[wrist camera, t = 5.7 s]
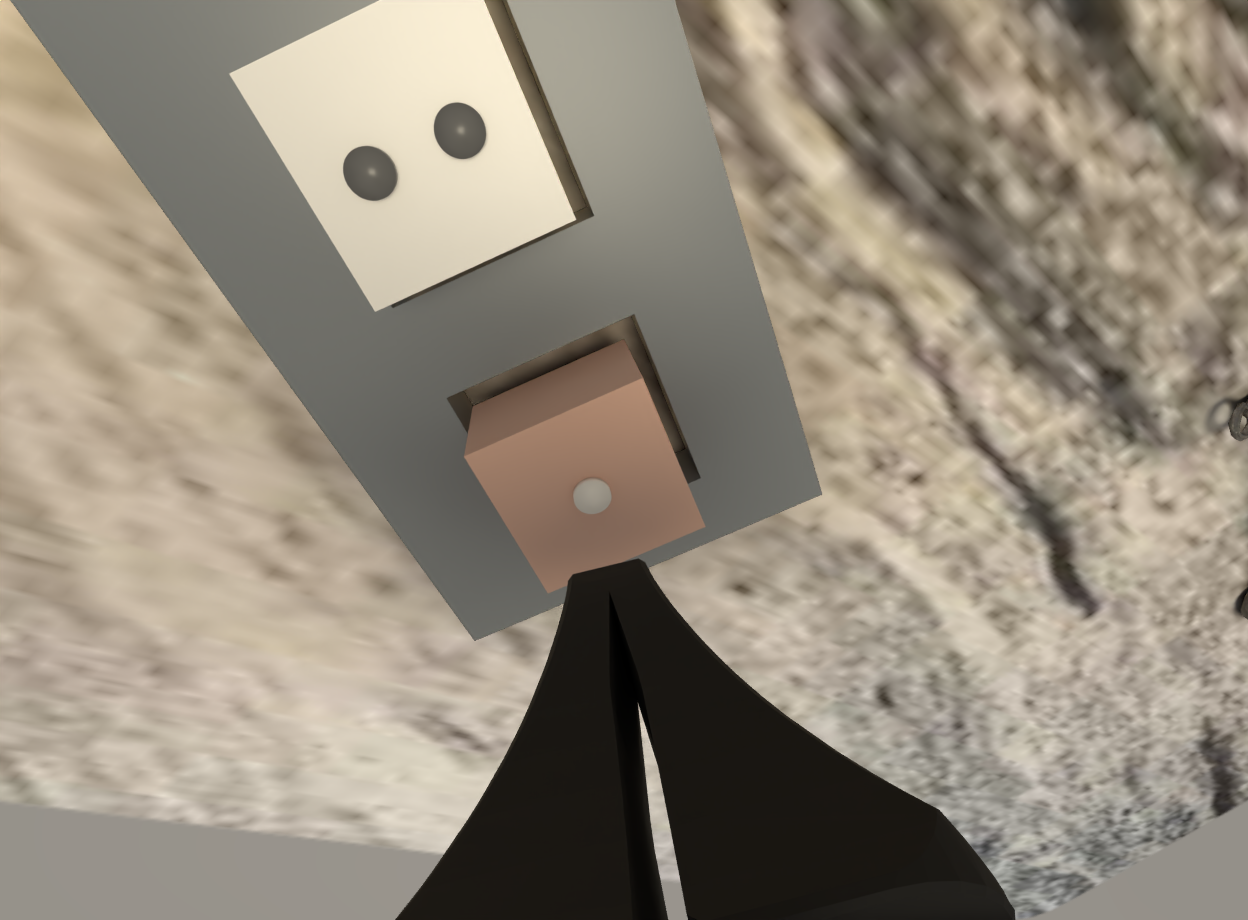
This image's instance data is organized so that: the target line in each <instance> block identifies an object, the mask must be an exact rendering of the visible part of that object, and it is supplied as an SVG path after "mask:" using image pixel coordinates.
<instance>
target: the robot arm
mask: <svg viewBox="0 0 1248 920" xmlns="http://www.w3.org/2000/svg"><path fill="white" fill-rule="evenodd" d="M638 704H639V707H640V710H641V713H642V717H643V720H644V723H645V726H646V729H647V733H648V736H649V739H650V742H651V745H652V749H653V752H654V755H655V758H656V761H657V765H658V768H659V773H660V778H661V783H662V788H663V793H664V798H665V803H666V808H667V813H668V819H669V824H670V829H671V834H672V839H673V844H674V850H675V855H676V860H677V865H678V870H679V876H680V881H681V886H682V891H683V897H684V902H685V906H686V913H687V917H688V920H1015V910H1014V908H1013V907H1012V905H1011V904H1010V902H1009V901H1008V899H1007V897H1006V895H1005V893H1004V891H1003V889H1002V888H1001V886H1000V885H999V883H998V882H997V880H996V878H995V877H994V876H993V874H992V873H991V872H990V870H989V869H988V868H987V866H986V865H985V864H984V862H983V861H982V860H981V859H980V857H979V856H978V855H977V854H976V852H975V851H974V850H973V848H972V847H971V846H970V845H969V843H968V842H967V841H966V840H965V838H964V837H963V836H962V835H961V834H960V833H959V832H958V830H957V829H956V828H955V827H954V826H953V825H952V823H951V822H950V821H949V820H948V819H947V818H946V817H945V816H944V815H943V813H942V812H941V811H940V810H939V809H937V808H935V807H933V806H931V805H929V804H927V803H925V802H923V801H922V800H920V799H918V798H916V797H914V796H912V795H910V794H908V793H907V792H905V791H903V790H901V789H899V788H898V787H896V786H894V785H892V784H891V783H889V782H887V781H885V780H884V779H882V778H880V777H878V776H877V775H875V774H873V773H871V772H870V771H868V770H867V769H865V768H863V767H862V766H860V765H858V764H857V763H855V762H854V761H852V760H850V759H849V758H847V757H846V756H844V755H842V754H841V753H839V752H838V751H836V750H835V749H833V748H832V747H830V746H829V745H827V744H826V743H825V742H823V741H822V740H820V739H819V738H817V737H816V736H815V735H813V734H812V733H810V732H809V731H807V730H806V729H805V728H803V727H802V726H800V725H799V724H797V723H796V722H795V721H793V720H792V719H790V718H789V717H787V716H786V715H785V714H784V713H782V712H781V711H780V710H779V709H777V708H776V707H775V706H774V705H772V704H771V703H770V702H768V701H767V700H766V699H765V698H763V697H762V696H761V695H760V694H759V693H758V692H756V691H755V690H754V689H753V688H752V687H751V686H749V685H748V684H747V683H746V682H745V681H744V680H742V679H741V678H740V677H739V676H738V675H737V674H736V673H735V672H734V671H733V670H732V669H731V668H729V667H728V666H727V665H726V664H725V663H724V662H723V661H722V660H721V659H720V658H719V657H718V656H717V655H716V654H715V653H714V652H713V651H712V650H711V649H710V648H709V647H708V646H707V645H706V644H705V642H704V641H703V640H702V639H701V638H700V637H699V636H698V635H697V634H696V633H695V632H694V630H693V629H692V628H691V627H690V626H689V624H688V623H687V622H686V621H685V620H684V619H683V617H682V616H681V615H680V614H679V613H678V612H677V610H676V609H675V608H674V606H673V605H672V604H671V603H670V601H669V600H668V599H667V597H666V596H665V594H664V593H663V592H662V590H661V589H660V587H659V586H658V584H657V583H656V581H655V580H654V578H653V576H652V575H651V573H650V571H649V569H648V567H647V565H646V562H644V561H642V560H641V559H639V558H638V559H634V560H629V561H625V562H621V563H617V564H613V565H609V566H605V567H601V568H596V569H592V570H588V571H584V572H580V573H576V574H572V576H571V577H570V579H569V580H568V584H567V591H566V597H565V601H564V606H563V610H562V614H561V618H560V621H559V625H558V629H557V632H556V635H555V638H554V641H553V644H552V647H551V650H550V653H549V657H548V660H547V662H546V665H545V668H544V671H543V673H542V676H541V678H540V681H539V683H538V686H537V688H536V691H535V693H534V696H533V698H532V701H531V703H530V705H529V708H528V710H527V712H526V714H525V717H524V719H523V721H522V723H521V725H520V727H519V729H518V731H517V734H516V736H515V738H514V740H513V741H512V743H511V745H510V747H509V749H508V751H507V753H506V755H505V757H504V759H503V761H502V763H501V764H500V766H499V768H498V770H497V771H496V773H495V775H494V777H493V778H492V780H491V782H490V784H489V785H488V787H487V789H486V791H485V792H484V794H483V796H482V798H481V799H480V801H479V802H478V804H477V806H476V807H475V809H474V811H473V812H472V814H471V815H470V817H469V818H468V820H467V821H466V823H465V824H464V826H463V827H462V829H461V830H460V832H459V833H458V835H457V836H456V838H455V839H454V841H453V842H452V843H451V845H450V846H449V848H448V849H447V851H446V852H445V854H444V855H443V857H442V858H441V860H440V861H439V863H438V864H437V866H436V867H435V868H434V870H433V871H432V873H431V874H430V875H429V877H428V878H427V880H426V881H425V882H424V884H423V885H422V886H421V888H420V889H419V890H418V892H417V893H416V894H415V895H414V897H413V898H412V899H411V900H410V902H409V903H408V905H407V906H406V907H405V908H404V910H403V911H402V912H401V913H400V914H399V916H398V917H397V918H396V919H395V920H668V917H667V911H666V906H665V901H664V896H663V891H662V886H661V880H660V875H659V870H658V865H657V860H656V855H655V849H654V843H653V836H652V829H651V822H650V813H649V804H648V794H647V785H646V775H645V766H644V756H643V747H642V738H641V728H640V719H639V710H638Z"/></svg>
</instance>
